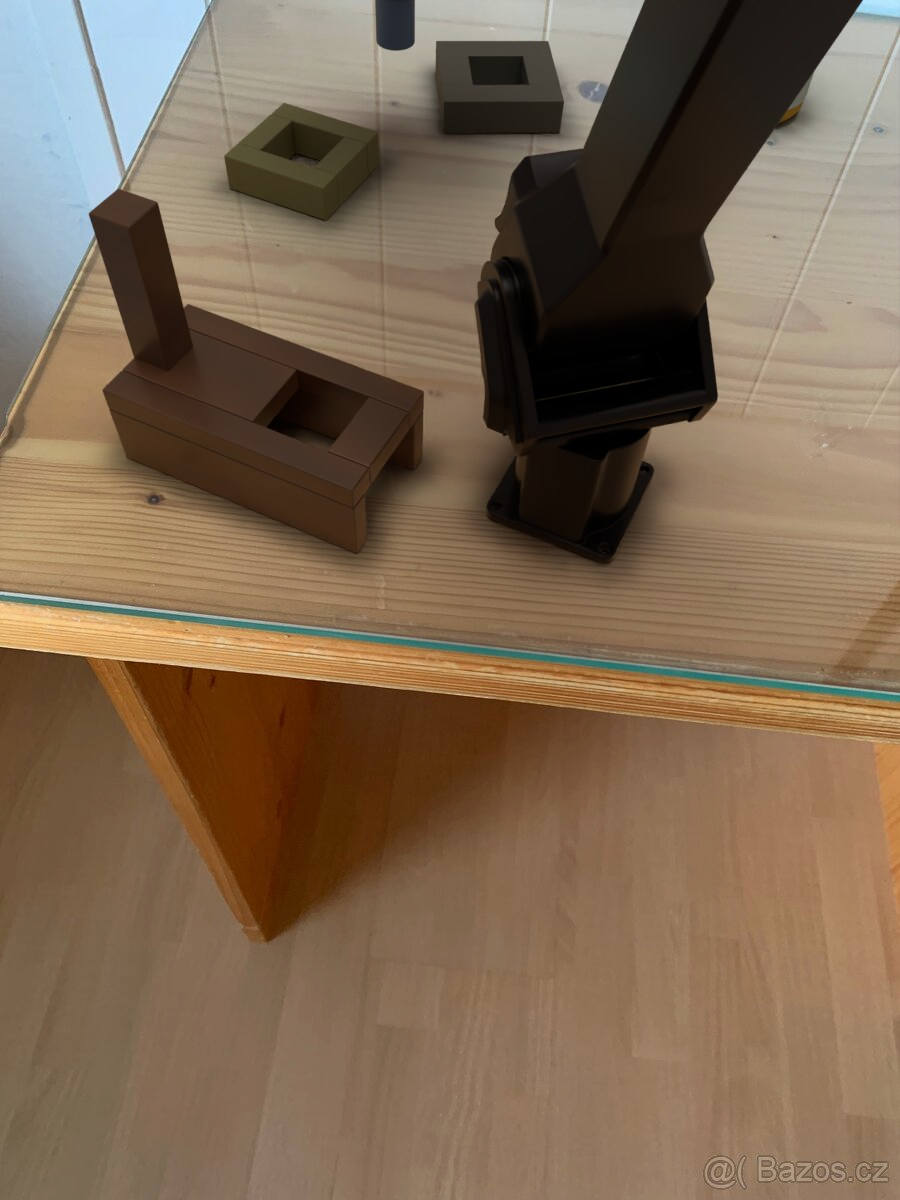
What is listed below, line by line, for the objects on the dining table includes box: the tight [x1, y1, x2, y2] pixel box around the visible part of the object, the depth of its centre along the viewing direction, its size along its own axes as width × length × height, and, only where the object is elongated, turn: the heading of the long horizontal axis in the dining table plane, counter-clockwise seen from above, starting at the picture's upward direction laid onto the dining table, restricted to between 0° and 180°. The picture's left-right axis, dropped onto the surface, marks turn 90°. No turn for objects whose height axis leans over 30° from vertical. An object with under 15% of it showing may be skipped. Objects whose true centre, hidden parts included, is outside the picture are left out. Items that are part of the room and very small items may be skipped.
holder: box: [434, 40, 565, 134], centre depth 65 cm, size 8×8×2 cm
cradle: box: [223, 102, 380, 221], centre depth 59 cm, size 7×7×2 cm
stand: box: [88, 188, 425, 554], centre depth 42 cm, size 7×13×12 cm, turn 64°
